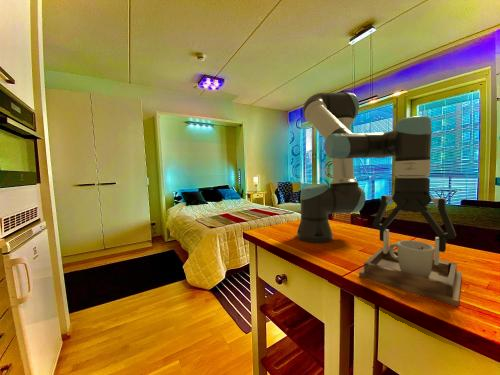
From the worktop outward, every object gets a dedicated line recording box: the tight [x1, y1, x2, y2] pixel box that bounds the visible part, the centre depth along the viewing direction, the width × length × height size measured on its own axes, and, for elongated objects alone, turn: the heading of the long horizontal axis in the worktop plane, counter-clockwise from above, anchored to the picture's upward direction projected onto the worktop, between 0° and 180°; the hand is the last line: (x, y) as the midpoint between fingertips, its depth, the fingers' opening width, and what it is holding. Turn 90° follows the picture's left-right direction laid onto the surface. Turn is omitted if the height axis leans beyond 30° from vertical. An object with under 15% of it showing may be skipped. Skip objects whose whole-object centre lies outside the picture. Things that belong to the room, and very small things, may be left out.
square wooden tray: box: [358, 247, 463, 308], centre depth 59 cm, size 20×18×4 cm
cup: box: [389, 239, 435, 278], centre depth 59 cm, size 11×8×8 cm
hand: (409, 257), depth 59 cm, fingers open, 11 cm apart
